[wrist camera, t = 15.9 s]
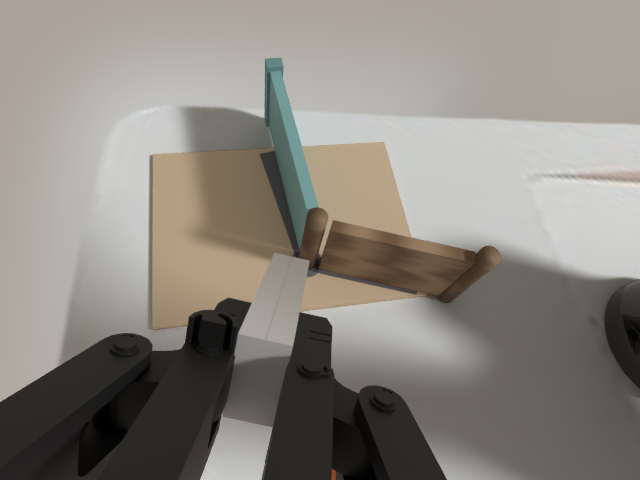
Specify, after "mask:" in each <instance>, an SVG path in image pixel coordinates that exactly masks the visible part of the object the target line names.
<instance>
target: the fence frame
mask: <svg viewBox="0 0 640 480" xmlns="http://www.w3.org/2000/svg"><path fill="white" fill-rule="evenodd" d="M327 222H328V213H327V212H326V211H325V210H324V209H322V208H319V207H315V208H312V209H310V210H309V211H308V213H307V217H306V222H305V227H304V233H303V238H302V243H301V248H300V253H299V258H300V259H305V260H309V261H310V262H309V267H308V270H311V269H312V268H313V267H314V266H315V263H316V260H317V256H318V253H319V249H320V246H321V242H322V239H323V236H324V232H325V229H326V225H327ZM475 253H476V252H473V251H469V250H464V249H460V248H455V247H451V246H447V245H442V244H438V243H433V242H429V241H424V240H420V239H415V238H411V237H407V236H402V235H398V234H393V233H389V232H384V231H380V230H375V229H371V228H367V227H362V226H358V225H353V224H349V223H344V222H340V221H335V220H333V222H332V225H331V228H330V231H329V234H328V238H327V241H326V244H325V247H324V251H323V254H322V257H321V260H320V265H319V270H322V271H327V272H331V273H336V274H340V275H345V276H349V277H354V278H358V279H363V280H367V281H372V282H377V283H381V284H386V285H390V286H395V287H399V288H404V289H408V290H413V291H417V292H422V293H426V294H431V295H435V296H437V297H438V298H439V300H440V301H442V302H444V303H449V302H451V301H452V300H453V299H455V298H456V297H457V296H458V295H460V294H461V293H462V292H463V291H465V290H466V289H467V288H468V287H470V286H471V285H472V284H473V283H475V282H476V281H477V280H479V279H480V278H481V277H482V276H484V275H485V274H486V273H487V272H489V271H490V270H491V269H492V268H494V267H495V266H496V265H497V264H499V263H500V261H501V255H500V253H499V251H498V250H497V249H496V248H494V247H492V246H485V247H483V248H482V249H481V250H480V251H479V252H477V253H476V254H475Z"/></svg>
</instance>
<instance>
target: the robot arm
mask: <svg viewBox="0 0 640 480" xmlns="http://www.w3.org/2000/svg"><path fill="white" fill-rule="evenodd" d="M309 262H310V261H309V260H305V259H300V258H296V257H291V256H287V255H282V254H278V253H274V255H273V257H272V259H271V261H270V264H269V266H268V268H267V270H266V272H265V275H264V277H263V279H262V281H261V284H260V286H259V288H258V290H257V293H256V295H255V297H254V299H253V301H252V303H251V302H246V301H242V300H237V299H233V298H226V299H225V300H223V301H221V302H219V303H218V304H217V306H216V307H215V309H214V310H201V311H198V312H194V313H193V314H192V315H190V316H189V319H188V326H187V333H186V340H185V344H184V346H183V347H182V349H179V350H174V351H152V344H151V342H150V341H149V340H148V339H147V338H145V337H143V336H141V335H136V334H130V333H129V334H128V333H122V334H116V335H112V336H109V337H107V338H105V339H103V340H101V341H99V342H98V343H96V344H95V345H93V346H91V347H90V348H88V349H86V350H85V351H83V352H81V353H80V354H78V355H77V356H75V357H73V358H72V359H70V360H68V361H67V362H65V363H63V364H62V365H60V366H59V367H57V368H55V369H54V370H52V371H50V372H49V373H47V374H45V375H44V376H42V377H41V378H39V379H37V380H36V381H34V382H32V383H31V384H29V385H27V386H26V387H24V388H23V389H21V390H19V391H18V392H16V393H14V394H13V395H11V396H9V397H8V398H6V399H5V400H3V401H1V402H0V480H200V478H201V476H202V473H203V470H204V468H205V465H206V462H207V460H208V457H209V454H210V451H211V449H212V446H213V443H214V441H215V438H216V435H217V433H218V430H219V424H220V419H221V414H222V412H223V409H224V412H223V416H224V417H228V418H233V419H238V420H242V421H247V422H252V423H256V424H261V425H266V426H270V427H273V429H272V434H271V438H270V442H269V447H268V451H267V455H266V460H265V466H264V471H263V475H262V480H332V469H333V470H335V472H336V480H447V479H446V477H445V475H444V473H443V471H442V470H441V468H440V466H439V464H438V462H437V460H436V458H435V456H434V455H433V453H432V451H431V449H430V447H429V445H428V443H427V441H426V440H425V438H424V436H423V434H422V432H421V430H420V428H419V426H418V425H417V423H416V421H415V419H414V417H413V415H412V413H411V412H410V410H409V408H408V406H407V404H406V403H405V401H404V400H403V399H402V397H401V396H399V395H398V394H397V393H395V392H394V391H392V390H390V389H387V388H385V387H381V386H376V385H375V386H367V387H365V388H363V389H361V391H360V393H359V394H358V393H356V392H353V391H351V390H349V389H347V388H345V387H344V386H342V385H341V384H340V383H338V382H337V381H336V379H335V378H334V373H333V369H332V368H331V345H332V344H331V342H332V326H331V324H330V323H329V321H328V320H327V318H323V317H319V316H314V315H310V314H305V313H301V312H300V308H301V303H302V298H303V293H304V287H305V282H306V277H307V272H308V267H309ZM605 324H606V332H607V337H608V340H609V343H610V346H611V349H612V351H613V353H614V355H615V357H616V359H617V361H618V362H619V364H620V365H621V367H622V368H623V370H624V371H625V372H626V374H627V375H628V376H629V377H630V378H631V379H632V381H633V382H634V383H635V384H636V385H637V386H638V387H640V279H639V280H636V281H634V282H632V283H630V284H628V285H625V286H623V287H622V288H620V289H619V290H618V291H617V292H616V293H615V294H614V295H613V296H612V298H611V299H610V301H609V303H608V306H607V310H606V317H605Z"/></svg>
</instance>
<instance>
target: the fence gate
mask: <svg viewBox="0 0 640 480" xmlns="http://www.w3.org/2000/svg"><path fill="white" fill-rule="evenodd" d="M265 122H266V126H269V129H270V133H271V137H272V141H273V145H274V150H275V154H276V158H277V162H278V166H279V170H280V174H281V178H282V182H283V186H284V190H285V194H286V198H287V202H288V206H289V211H290V215H291V219H292V223H293V227H294V231H295V235H296V239H297V243H298V247H299V249H300V248H301V243H302V238H303V233H304V227H305V222H306V217H307V213H308V211H309V210H310V209H312V208H315V207H319V206H318V203H317V199H316V196H315V192H314V189H313V185H312V181H311V178H310V174H309V171H308V167H307V164H306V160H305V156H304V153H303V149H302V146H301V142H300V139H299V135H298V131H297V128H296V124H295V121H294V117H293V114H292V110H291V106H290V103H289V99H288V96H287V92H286V89H285V85H284V82H283V63H282V60H281V58H270V59H265Z"/></svg>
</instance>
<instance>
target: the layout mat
mask: <svg viewBox="0 0 640 480" xmlns="http://www.w3.org/2000/svg"><path fill="white" fill-rule="evenodd" d="M302 149H303V153H304V156H305V160H306V164H307V167H308V171H309V174H310V178H311V181H312V185H313V189H314V192H315V196H316V199H317V203H318V206H319V208H322V209H324V210H325V211H326V212H327V213H328V222H327V225H326V229H325V232H324V236H323V239H322V242H321V246H320V249H319V253H318V256H317V260H316V263H315V266H314V267H313V268H312V269H311V270H308V272H307V277H306V282H305V287H304V293H303V298H302V303H301V308H300V312H301V311H309V310H317V309H325V308H333V307H341V306H349V305H357V304H365V303H373V302H381V301H389V300H397V299H405V298H413V297H421V296H427V295H428V294H426V293H422V292H417V291H413V290H408V289H404V288H399V287H395V286H390V285H386V284H381V283H377V282H372V281H367V280H363V279H358V278H354V277H349V276H345V275H340V274H336V273H331V272H327V271H322V270H319V265H320V260H321V257H322V254H323V251H324V247H325V244H326V241H327V238H328V234H329V231H330V228H331V225H332V222H333V220H335V221H340V222H344V223H349V224H353V225H358V226H362V227H367V228H371V229H375V230H380V231H384V232H389V233H393V234H398V235H402V236H407V237H411V234H410V231H409V227H408V224H407V220H406V217H405V213H404V210H403V206H402V203H401V199H400V196H399V192H398V189H397V185H396V182H395V178H394V175H393V171H392V168H391V165H390V161H389V158H388V154H387V151H386V147H385V144H384V142H377V143H358V144H339V145H320V146H302ZM274 253H278V254H282V255H287V256H291V257H296V258H299V253H300V249H299V247H298V243H297V239H296V235H295V231H294V227H293V223H292V219H291V215H290V211H289V206H288V202H287V198H286V194H285V190H284V186H283V182H282V178H281V174H280V170H279V166H278V162H277V158H276V154H275V150H274V148H263V149H244V150H225V151H206V152H187V153H168V154H153V240H152V329H153V330H157V329H165V328H173V327H181V326H188V319H189V316H190V315H192V314H193V313H194V312H198V311H201V310H214V309H215V307H216V306H217V304H218V303H219V302H221V301H223V300H225V299H226V298H233V299H237V300H242V301H246V302H251V303H252V301H253V299H254V297H255V295H256V293H257V290H258V288H259V286H260V284H261V281H262V279H263V277H264V275H265V272H266V270H267V268H268V266H269V264H270V261H271V259H272V257H273V255H274Z"/></svg>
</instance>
